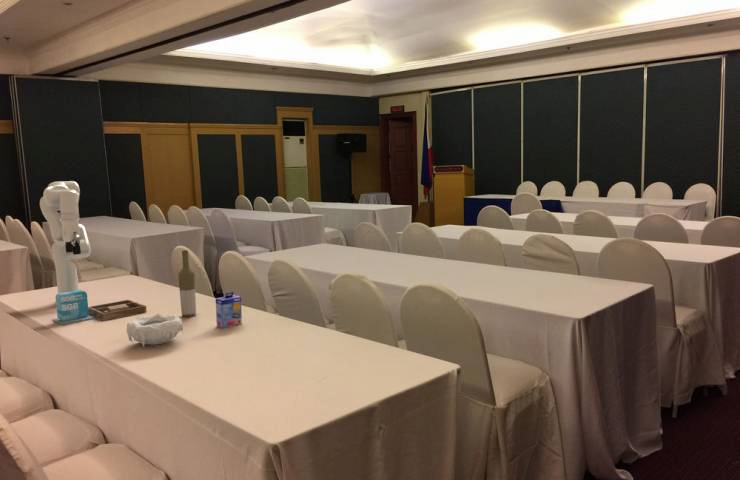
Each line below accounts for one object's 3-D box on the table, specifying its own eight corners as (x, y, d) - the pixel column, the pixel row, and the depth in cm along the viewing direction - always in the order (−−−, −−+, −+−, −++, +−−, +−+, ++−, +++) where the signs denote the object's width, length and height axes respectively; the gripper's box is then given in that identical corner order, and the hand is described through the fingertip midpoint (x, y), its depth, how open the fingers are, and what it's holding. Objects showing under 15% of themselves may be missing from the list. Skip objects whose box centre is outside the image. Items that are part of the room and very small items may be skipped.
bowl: (128, 339, 234) (126, 314, 232) (182, 333, 241) (180, 309, 239) (127, 354, 214) (125, 328, 213) (185, 347, 222) (183, 321, 220)
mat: (52, 320, 265) (52, 319, 265) (85, 314, 274) (84, 313, 274) (61, 325, 256) (61, 324, 256) (94, 318, 266) (94, 317, 266)
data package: (60, 321, 260) (58, 295, 258) (57, 320, 263) (55, 293, 261) (89, 316, 268) (86, 290, 267) (85, 314, 271) (83, 289, 270)
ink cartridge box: (223, 328, 246) (221, 294, 244) (215, 326, 250) (214, 293, 248) (243, 323, 253) (241, 290, 251) (235, 321, 257) (234, 289, 255)
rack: (88, 313, 276) (87, 307, 276) (129, 305, 290) (128, 299, 290) (103, 320, 263) (103, 314, 262) (146, 312, 276) (146, 305, 276)
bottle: (178, 315, 268) (173, 250, 264) (192, 312, 273) (188, 249, 269) (185, 318, 263) (181, 252, 259) (199, 315, 268) (195, 250, 264)
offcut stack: (104, 315, 273) (103, 307, 273) (126, 311, 279) (126, 303, 279) (108, 318, 268) (107, 309, 267) (130, 314, 274) (130, 306, 273)
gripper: (55, 216, 276) (58, 252, 279) (67, 218, 264) (71, 256, 267) (72, 215, 282) (75, 250, 284) (85, 217, 269) (88, 254, 272)
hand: (73, 253), depth 275 cm, fingers open, 9 cm apart
